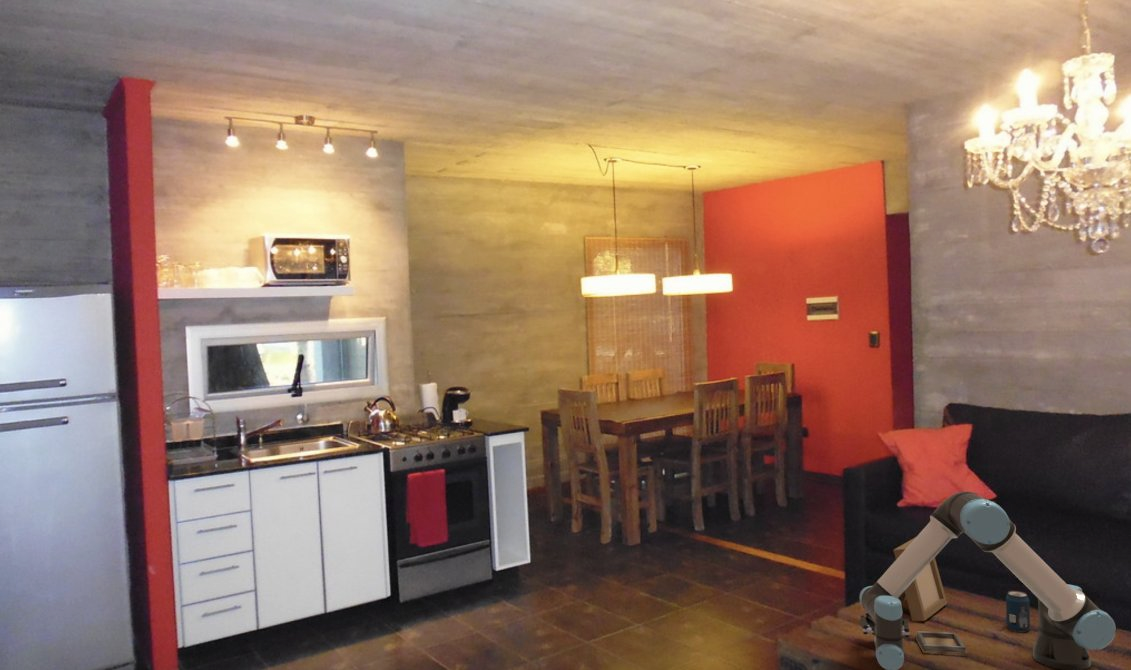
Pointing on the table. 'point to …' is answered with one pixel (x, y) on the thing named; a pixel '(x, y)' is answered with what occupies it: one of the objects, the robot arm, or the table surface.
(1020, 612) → the soda can
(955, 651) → the tray
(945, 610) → the table surface
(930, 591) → the photo frame
